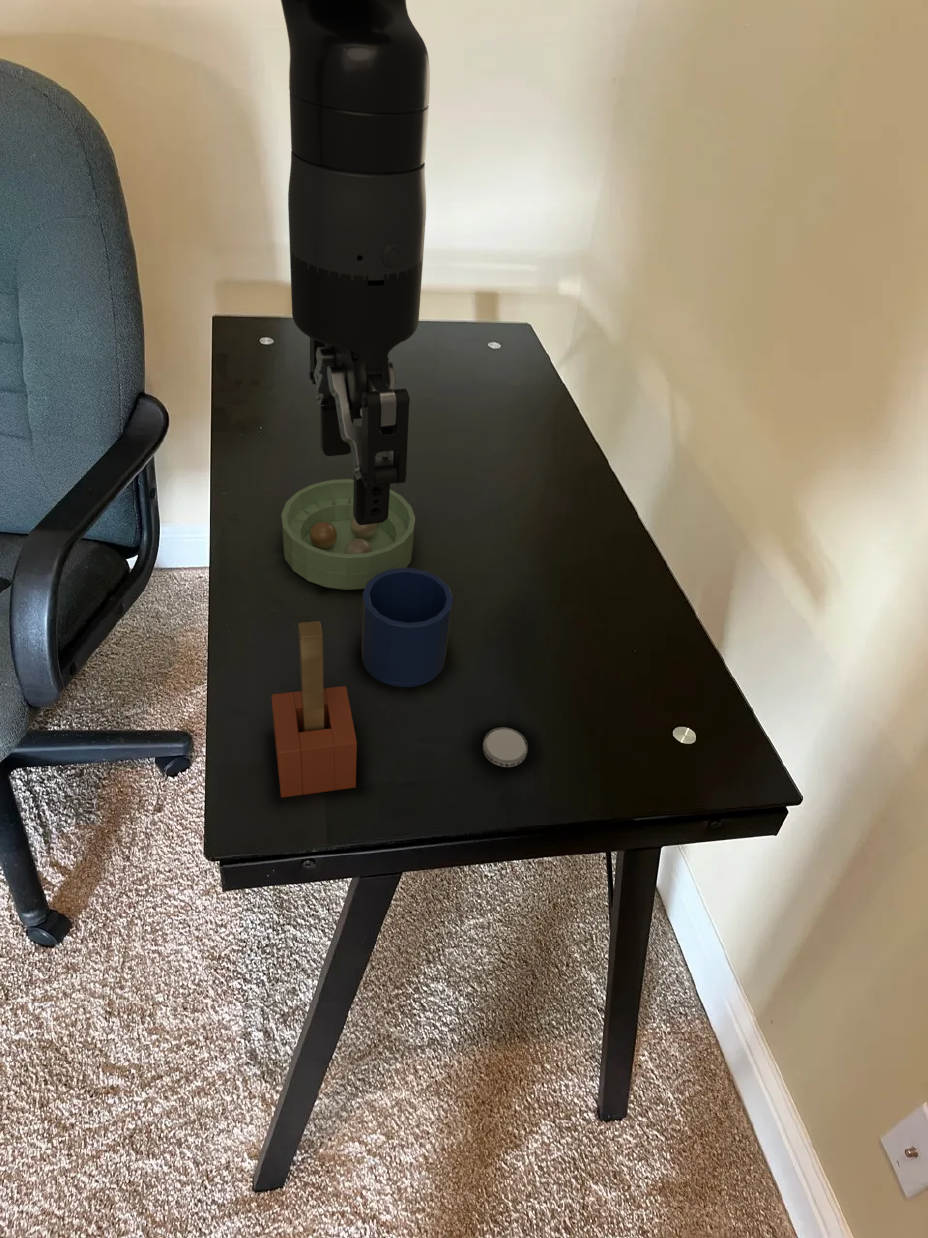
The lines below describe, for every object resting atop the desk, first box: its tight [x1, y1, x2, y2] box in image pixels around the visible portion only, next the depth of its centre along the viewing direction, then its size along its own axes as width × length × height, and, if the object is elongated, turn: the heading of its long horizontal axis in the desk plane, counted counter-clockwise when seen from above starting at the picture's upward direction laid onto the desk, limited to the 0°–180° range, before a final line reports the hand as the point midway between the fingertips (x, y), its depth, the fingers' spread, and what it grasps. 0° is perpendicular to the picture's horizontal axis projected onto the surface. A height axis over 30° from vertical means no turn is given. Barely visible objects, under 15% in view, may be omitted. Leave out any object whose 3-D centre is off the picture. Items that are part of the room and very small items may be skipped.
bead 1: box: [310, 521, 337, 549], centre depth 91 cm, size 3×3×3 cm
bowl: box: [280, 478, 416, 591], centre depth 91 cm, size 14×14×5 cm
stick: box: [297, 620, 325, 732], centre depth 66 cm, size 2×2×16 cm
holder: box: [270, 685, 358, 799], centre depth 69 cm, size 6×6×6 cm
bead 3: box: [345, 538, 373, 554], centre depth 89 cm, size 3×3×3 cm
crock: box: [360, 567, 454, 688], centre depth 79 cm, size 8×8×8 cm
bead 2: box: [351, 517, 377, 539], centre depth 93 cm, size 3×3×3 cm
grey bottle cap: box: [482, 727, 529, 768], centre depth 74 cm, size 4×4×1 cm
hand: (353, 485), depth 57 cm, fingers open, 8 cm apart
